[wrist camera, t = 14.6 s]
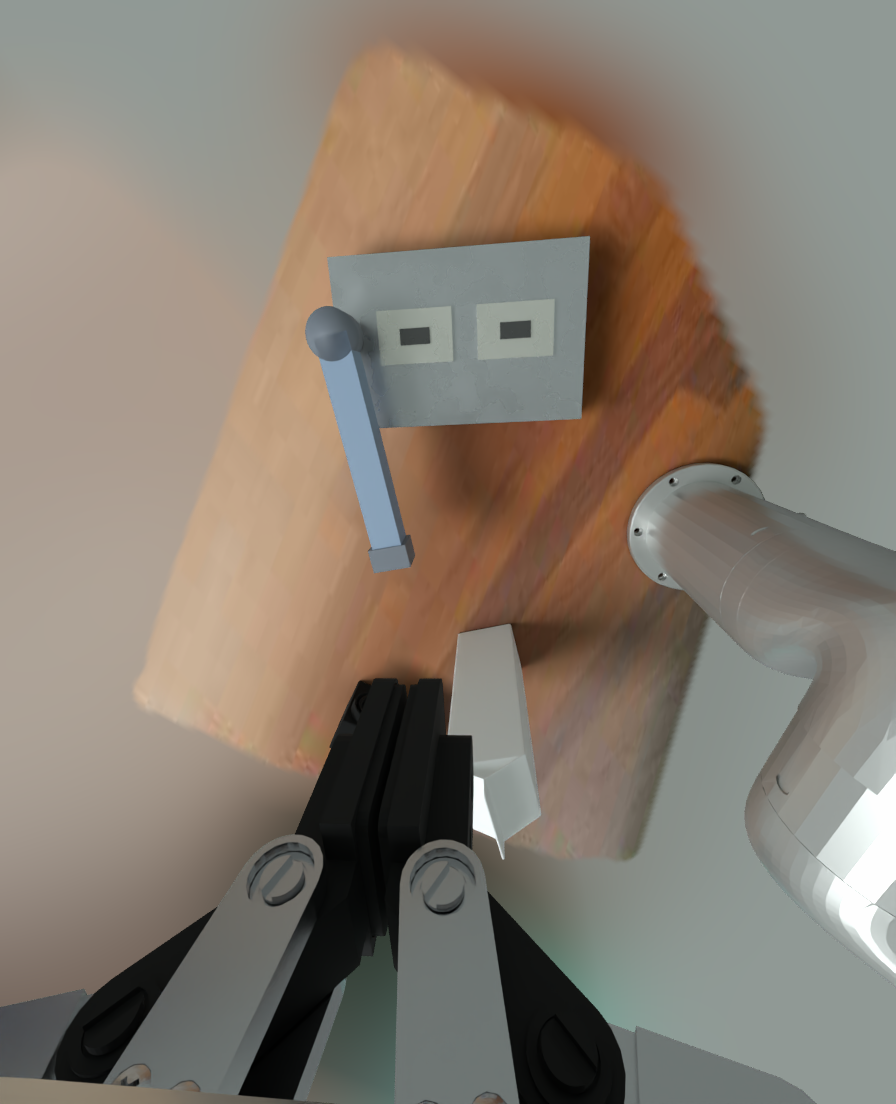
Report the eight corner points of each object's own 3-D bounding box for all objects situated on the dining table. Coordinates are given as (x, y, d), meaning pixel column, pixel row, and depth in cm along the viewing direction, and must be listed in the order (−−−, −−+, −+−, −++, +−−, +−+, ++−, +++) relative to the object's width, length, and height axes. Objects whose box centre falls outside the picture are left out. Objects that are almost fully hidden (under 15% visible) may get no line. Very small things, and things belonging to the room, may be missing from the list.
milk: (470, 677, 52) (460, 868, 32) (457, 632, 50) (437, 804, 30) (523, 667, 51) (547, 859, 31) (511, 621, 49) (529, 792, 29)
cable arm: (312, 318, 34) (298, 312, 32) (356, 306, 34) (346, 300, 31) (379, 561, 41) (371, 573, 38) (417, 555, 41) (412, 566, 38)
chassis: (579, 251, 37) (597, 226, 31) (572, 415, 42) (586, 420, 36) (340, 270, 39) (314, 249, 33) (357, 425, 43) (338, 431, 37)
